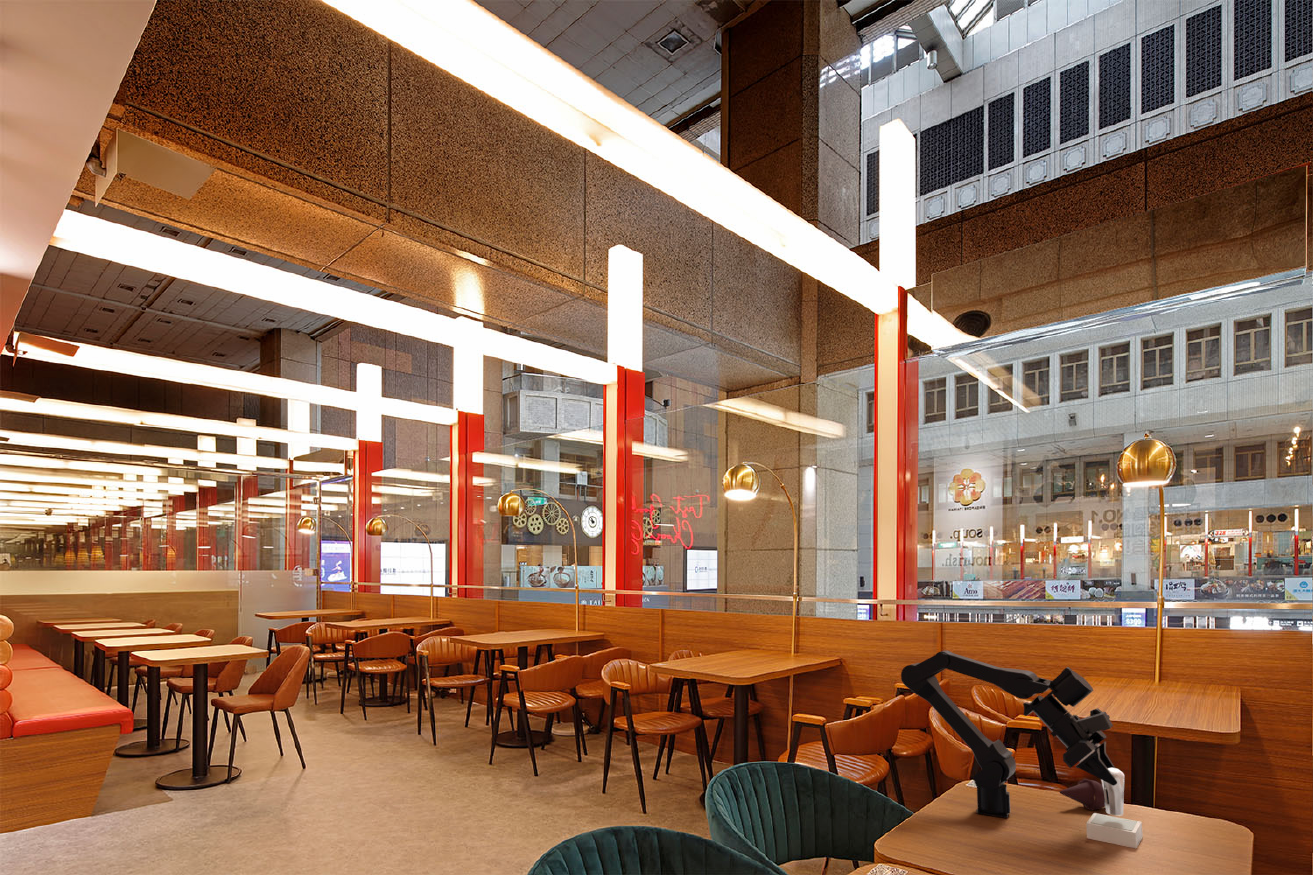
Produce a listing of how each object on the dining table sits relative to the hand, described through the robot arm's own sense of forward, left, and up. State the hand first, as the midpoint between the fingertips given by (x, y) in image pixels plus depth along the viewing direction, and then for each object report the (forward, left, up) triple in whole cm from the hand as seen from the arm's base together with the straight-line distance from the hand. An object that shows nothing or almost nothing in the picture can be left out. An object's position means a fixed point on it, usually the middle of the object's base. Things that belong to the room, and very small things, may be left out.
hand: (1117, 781), depth 168 cm
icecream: (-5, +20, -12) cm, 24 cm away
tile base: (-1, 0, -11) cm, 11 cm away
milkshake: (-1, 0, -7) cm, 7 cm away
